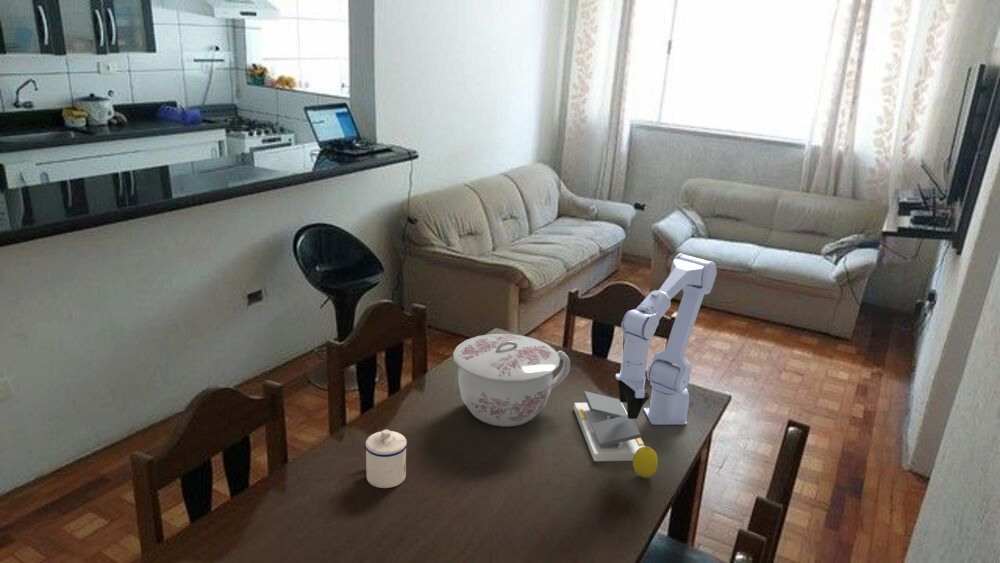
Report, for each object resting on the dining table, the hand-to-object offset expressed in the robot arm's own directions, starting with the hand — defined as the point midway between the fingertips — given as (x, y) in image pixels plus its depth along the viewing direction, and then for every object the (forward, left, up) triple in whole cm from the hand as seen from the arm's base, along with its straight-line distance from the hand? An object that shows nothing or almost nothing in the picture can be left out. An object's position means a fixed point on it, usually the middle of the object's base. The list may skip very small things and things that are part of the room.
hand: (628, 409), depth 169 cm
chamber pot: (+28, -15, -10) cm, 34 cm away
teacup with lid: (+58, +11, -10) cm, 60 cm away
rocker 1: (+3, -11, -6) cm, 12 cm away
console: (+3, -5, -10) cm, 11 cm away
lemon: (-1, +14, -10) cm, 17 cm away
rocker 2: (+3, +1, -6) cm, 6 cm away
